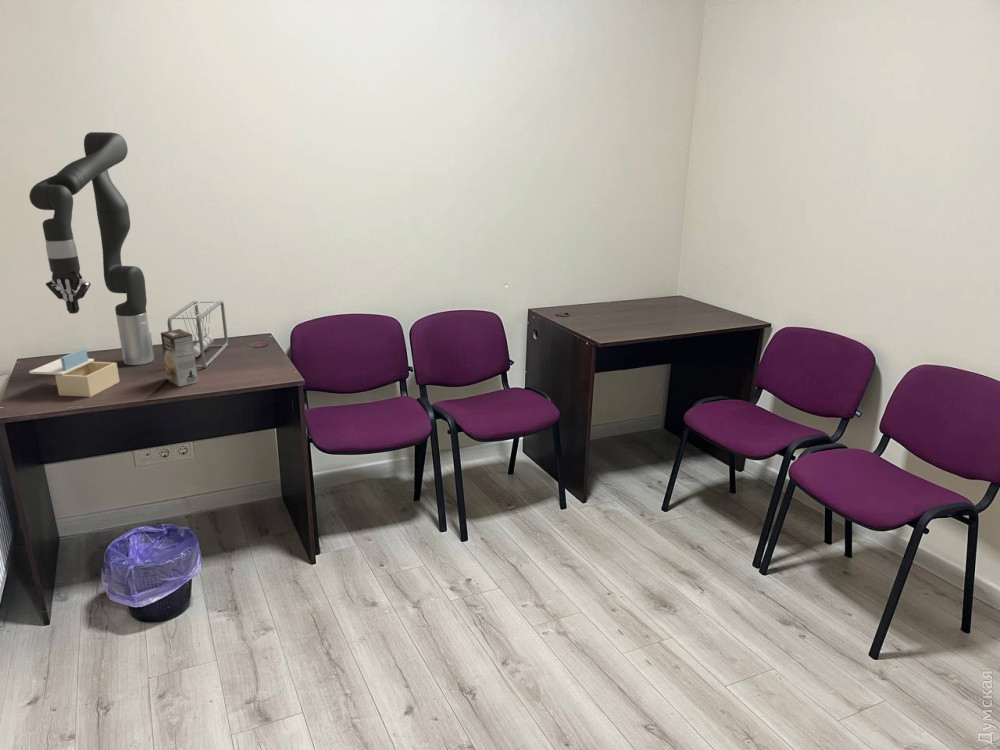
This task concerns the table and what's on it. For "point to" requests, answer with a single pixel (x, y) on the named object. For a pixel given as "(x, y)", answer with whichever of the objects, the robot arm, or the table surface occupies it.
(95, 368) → the storage box
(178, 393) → the table surface
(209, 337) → the newton's cradle
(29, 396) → the table surface
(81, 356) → the lid
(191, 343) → the coffee box
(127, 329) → the robot arm
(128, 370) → the table surface
